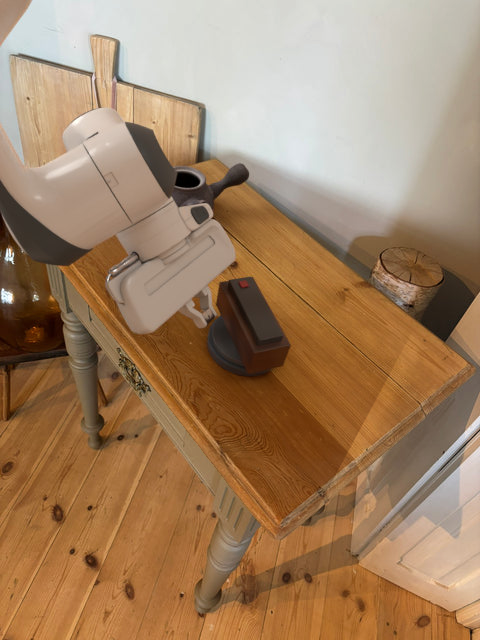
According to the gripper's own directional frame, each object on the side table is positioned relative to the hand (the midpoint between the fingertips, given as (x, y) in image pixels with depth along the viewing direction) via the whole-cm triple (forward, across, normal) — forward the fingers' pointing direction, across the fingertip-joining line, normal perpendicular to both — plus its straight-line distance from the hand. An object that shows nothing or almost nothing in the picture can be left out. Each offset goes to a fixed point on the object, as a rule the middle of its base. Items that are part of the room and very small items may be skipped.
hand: (208, 322), depth 65 cm
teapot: (-11, +28, +20) cm, 36 cm away
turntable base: (+8, +5, +2) cm, 9 cm away
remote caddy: (+7, +5, 0) cm, 8 cm away
